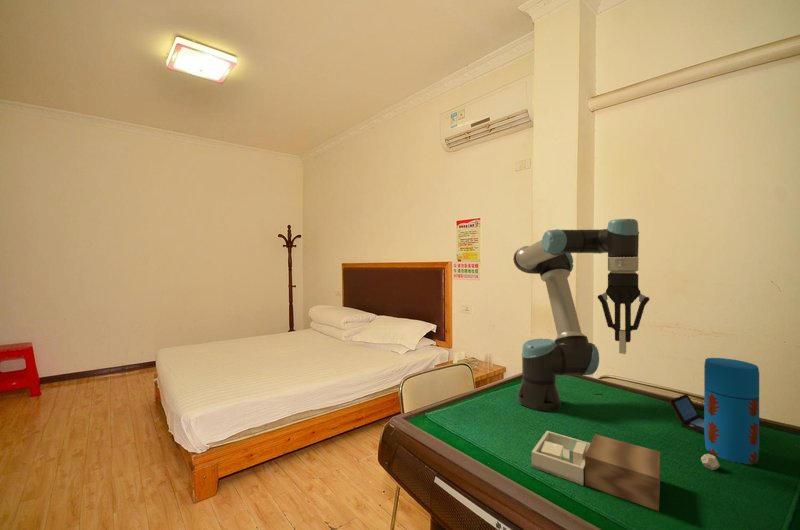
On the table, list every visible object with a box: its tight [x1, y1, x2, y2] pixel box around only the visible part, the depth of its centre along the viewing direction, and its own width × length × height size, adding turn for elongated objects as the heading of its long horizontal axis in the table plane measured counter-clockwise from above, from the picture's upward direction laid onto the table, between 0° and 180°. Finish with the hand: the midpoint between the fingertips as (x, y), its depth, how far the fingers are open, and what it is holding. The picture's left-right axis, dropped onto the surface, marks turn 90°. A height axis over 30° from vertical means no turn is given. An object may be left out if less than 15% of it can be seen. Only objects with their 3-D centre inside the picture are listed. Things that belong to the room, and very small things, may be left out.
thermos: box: [703, 357, 760, 465], centre depth 94 cm, size 11×11×25 cm
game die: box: [700, 453, 721, 471], centre depth 88 cm, size 4×4×3 cm
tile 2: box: [569, 441, 586, 466], centre depth 88 cm, size 4×6×3 cm
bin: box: [531, 430, 591, 486], centre depth 90 cm, size 12×14×4 cm
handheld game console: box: [669, 394, 704, 435], centre depth 111 cm, size 12×11×7 cm
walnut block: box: [584, 433, 661, 512], centre depth 82 cm, size 14×13×7 cm
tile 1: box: [541, 441, 563, 460], centre depth 91 cm, size 4×6×3 cm
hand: (622, 352), depth 100 cm, fingers closed
